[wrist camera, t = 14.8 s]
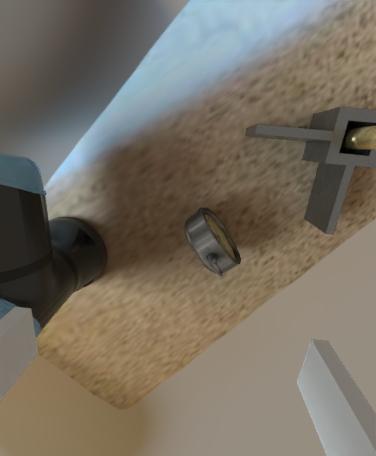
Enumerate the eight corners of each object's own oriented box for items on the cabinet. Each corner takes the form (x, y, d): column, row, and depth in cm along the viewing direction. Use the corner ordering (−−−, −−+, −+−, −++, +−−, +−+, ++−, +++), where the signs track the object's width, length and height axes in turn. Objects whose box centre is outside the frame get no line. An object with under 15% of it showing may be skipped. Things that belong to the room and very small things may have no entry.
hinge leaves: (233, 211, 44) (239, 224, 37) (249, 108, 39) (261, 99, 31) (326, 220, 44) (352, 236, 37) (357, 118, 38) (395, 111, 31)
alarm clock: (236, 242, 46) (254, 289, 31) (214, 256, 48) (221, 309, 32) (204, 198, 44) (206, 227, 29) (181, 215, 45) (172, 250, 30)
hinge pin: (318, 147, 40) (383, 148, 26) (323, 130, 39) (393, 121, 25) (335, 149, 40) (409, 151, 26) (340, 131, 39) (419, 123, 25)
